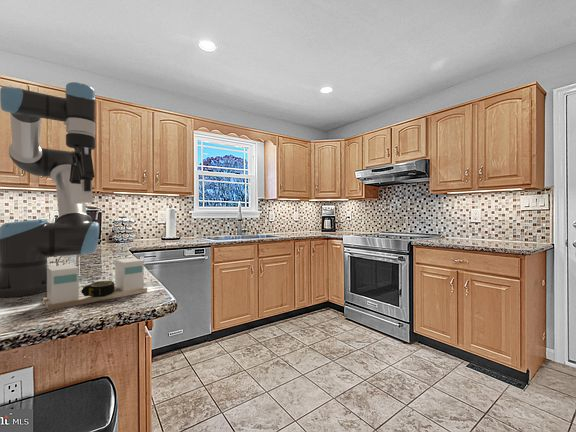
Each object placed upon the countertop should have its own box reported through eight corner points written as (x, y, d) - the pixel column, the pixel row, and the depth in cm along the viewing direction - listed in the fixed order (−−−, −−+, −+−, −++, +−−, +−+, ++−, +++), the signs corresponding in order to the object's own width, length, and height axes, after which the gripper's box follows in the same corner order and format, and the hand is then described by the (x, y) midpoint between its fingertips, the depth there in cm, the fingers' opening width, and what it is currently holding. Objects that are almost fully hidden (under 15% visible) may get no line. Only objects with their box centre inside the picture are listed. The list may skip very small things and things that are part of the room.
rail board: (43, 302, 84) (43, 296, 84) (135, 286, 102) (135, 282, 102) (48, 310, 77) (48, 304, 77) (147, 291, 95) (147, 287, 95)
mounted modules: (47, 298, 84) (46, 266, 83) (134, 283, 101) (134, 257, 101) (51, 304, 78) (51, 270, 78) (143, 288, 95) (143, 260, 95)
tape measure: (100, 290, 90) (101, 278, 90) (119, 293, 89) (120, 281, 88) (80, 298, 83) (81, 285, 83) (101, 301, 82) (101, 288, 82)
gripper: (58, 139, 97) (58, 203, 97) (75, 124, 80) (75, 201, 80) (85, 143, 102) (85, 204, 103) (106, 130, 85) (106, 202, 86)
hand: (81, 203), depth 91 cm, fingers open, 13 cm apart
